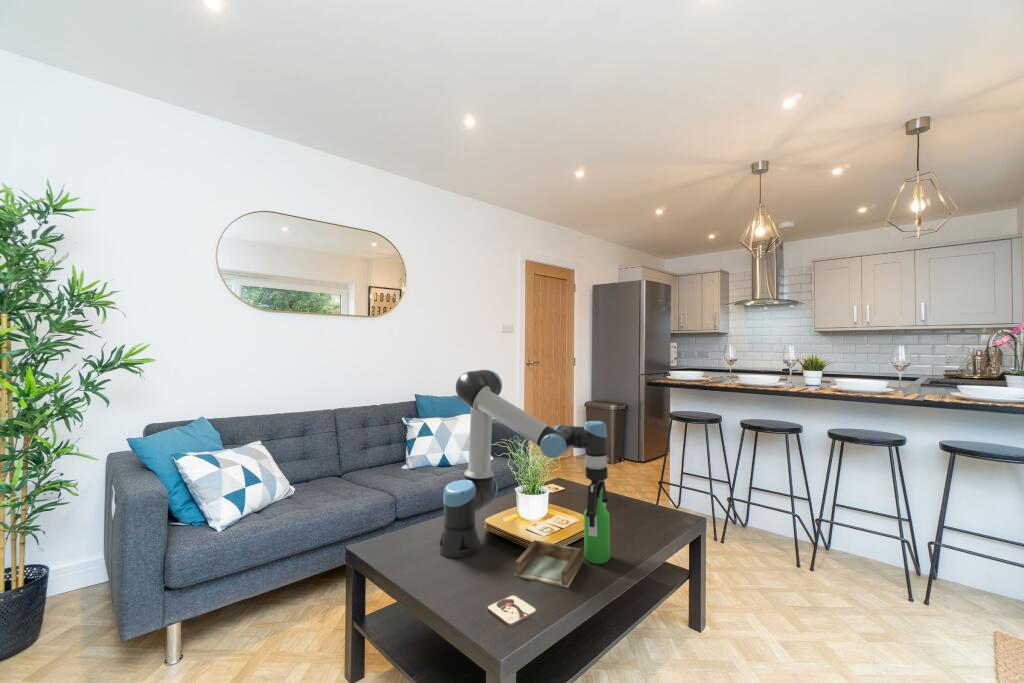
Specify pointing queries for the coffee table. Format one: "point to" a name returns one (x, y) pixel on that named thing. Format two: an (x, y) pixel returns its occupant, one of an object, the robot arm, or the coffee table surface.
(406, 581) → the coffee table surface
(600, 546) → the bottle
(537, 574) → the u rest
